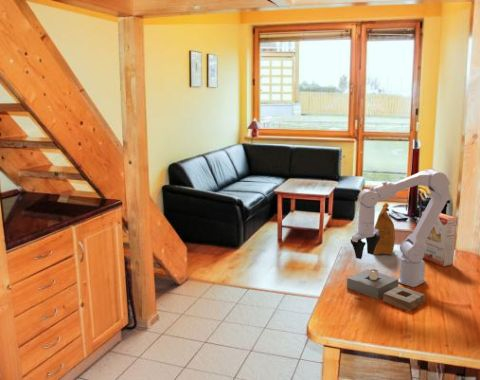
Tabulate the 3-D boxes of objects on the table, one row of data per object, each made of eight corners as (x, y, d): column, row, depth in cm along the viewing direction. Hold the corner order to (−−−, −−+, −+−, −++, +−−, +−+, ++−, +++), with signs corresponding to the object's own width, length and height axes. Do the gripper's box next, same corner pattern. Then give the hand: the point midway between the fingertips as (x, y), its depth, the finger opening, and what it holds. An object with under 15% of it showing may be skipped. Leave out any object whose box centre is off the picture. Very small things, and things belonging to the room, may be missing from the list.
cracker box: (417, 257, 217) (421, 211, 212) (428, 255, 219) (431, 209, 215) (442, 267, 204) (447, 218, 200) (453, 265, 207) (457, 217, 202)
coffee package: (394, 248, 228) (397, 202, 224) (393, 257, 216) (396, 208, 212) (372, 246, 231) (374, 201, 227) (370, 254, 220) (372, 207, 215)
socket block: (398, 293, 178) (398, 285, 177) (424, 302, 170) (424, 294, 170) (382, 301, 171) (383, 293, 171) (409, 310, 164) (409, 302, 163)
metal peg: (371, 286, 184) (372, 268, 183) (378, 288, 182) (379, 271, 181) (366, 288, 182) (367, 270, 181) (373, 290, 180) (374, 272, 179)
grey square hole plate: (367, 279, 192) (367, 269, 191) (397, 289, 182) (398, 278, 181) (346, 288, 183) (347, 277, 182) (377, 299, 173) (378, 288, 172)
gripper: (368, 216, 192) (366, 249, 194) (345, 222, 182) (344, 257, 185) (384, 219, 186) (382, 253, 189) (361, 226, 177) (360, 262, 180)
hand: (364, 256), depth 187 cm, fingers open, 7 cm apart
